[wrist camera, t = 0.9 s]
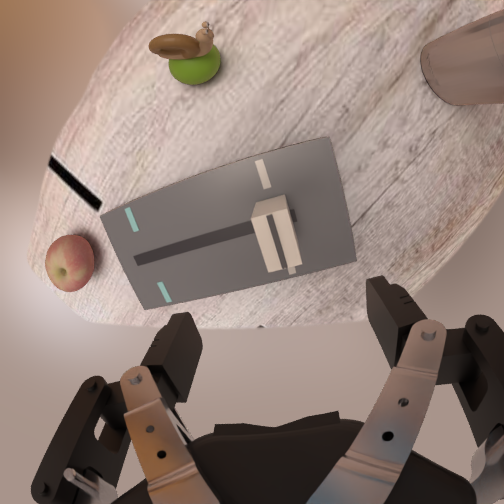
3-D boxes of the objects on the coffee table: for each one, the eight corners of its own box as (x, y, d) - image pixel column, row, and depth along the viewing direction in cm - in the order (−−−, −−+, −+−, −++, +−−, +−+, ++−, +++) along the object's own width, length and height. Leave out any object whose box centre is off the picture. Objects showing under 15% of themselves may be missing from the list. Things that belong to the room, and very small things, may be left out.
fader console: (324, 136, 27) (329, 136, 24) (350, 250, 32) (357, 261, 29) (111, 209, 33) (99, 216, 30) (152, 298, 37) (144, 310, 35)
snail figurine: (231, 88, 26) (204, 57, 15) (176, 89, 26) (124, 68, 15) (235, 46, 24) (212, -1, 13) (181, 49, 24) (134, 12, 13)
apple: (102, 282, 37) (74, 310, 30) (67, 261, 37) (37, 284, 29) (109, 238, 34) (76, 262, 27) (71, 218, 34) (36, 237, 26)
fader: (284, 194, 27) (287, 208, 21) (297, 239, 28) (302, 264, 23) (255, 202, 27) (250, 219, 22) (270, 246, 29) (268, 273, 23)
